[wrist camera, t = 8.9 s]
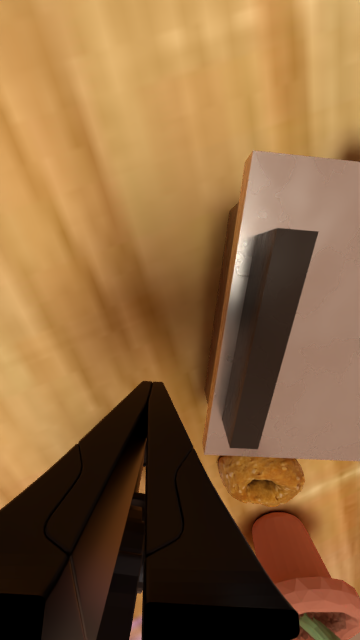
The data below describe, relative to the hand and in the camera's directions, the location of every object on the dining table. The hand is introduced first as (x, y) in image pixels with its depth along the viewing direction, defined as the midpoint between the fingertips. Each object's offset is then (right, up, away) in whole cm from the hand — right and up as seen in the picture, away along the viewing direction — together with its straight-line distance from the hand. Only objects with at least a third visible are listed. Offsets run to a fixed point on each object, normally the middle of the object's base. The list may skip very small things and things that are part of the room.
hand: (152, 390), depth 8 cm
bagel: (+12, -18, +20) cm, 29 cm away
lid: (+15, +1, +7) cm, 17 cm away
